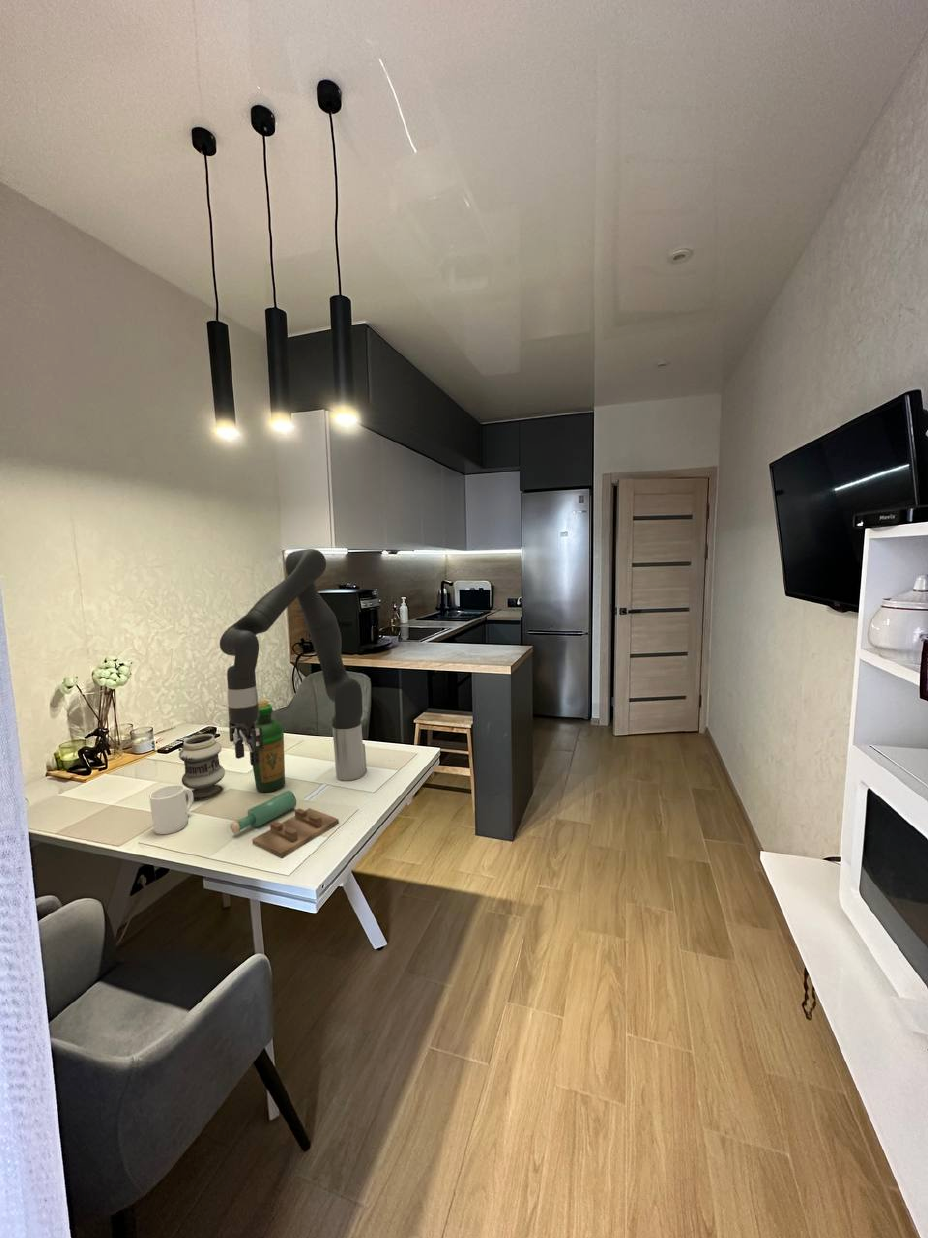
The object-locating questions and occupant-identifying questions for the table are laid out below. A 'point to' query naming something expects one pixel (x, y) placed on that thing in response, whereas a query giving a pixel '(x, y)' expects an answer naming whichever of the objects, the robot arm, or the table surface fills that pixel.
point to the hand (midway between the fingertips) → (247, 761)
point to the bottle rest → (294, 831)
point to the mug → (170, 808)
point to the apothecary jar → (202, 766)
